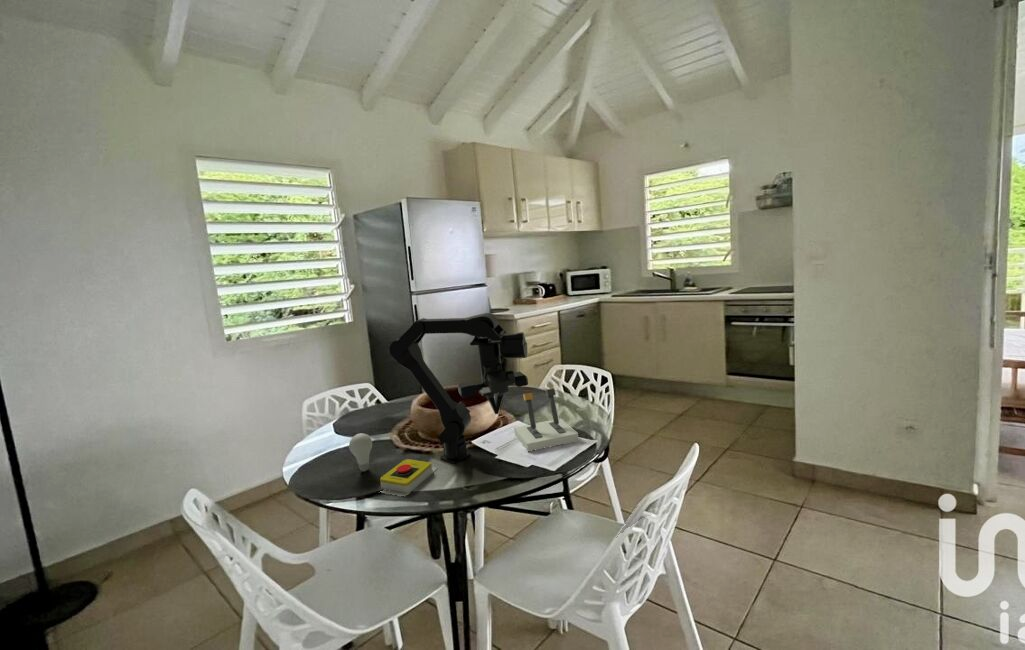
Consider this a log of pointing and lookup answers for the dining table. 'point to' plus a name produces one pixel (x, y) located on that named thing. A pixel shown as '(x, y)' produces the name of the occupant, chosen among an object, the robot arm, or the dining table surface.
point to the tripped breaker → (530, 409)
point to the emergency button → (406, 477)
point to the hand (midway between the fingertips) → (496, 413)
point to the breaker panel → (546, 430)
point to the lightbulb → (361, 450)
